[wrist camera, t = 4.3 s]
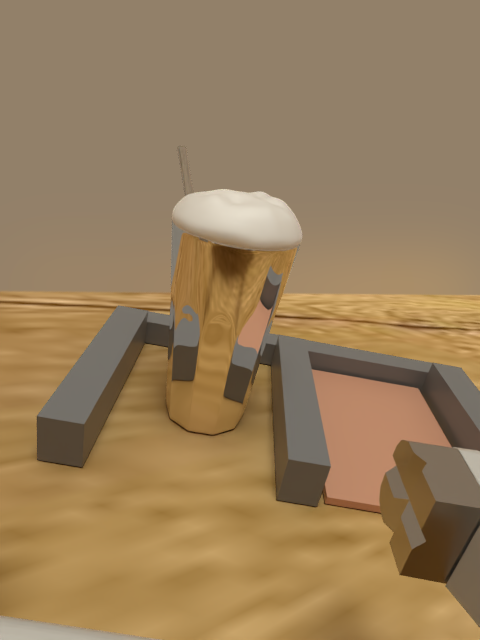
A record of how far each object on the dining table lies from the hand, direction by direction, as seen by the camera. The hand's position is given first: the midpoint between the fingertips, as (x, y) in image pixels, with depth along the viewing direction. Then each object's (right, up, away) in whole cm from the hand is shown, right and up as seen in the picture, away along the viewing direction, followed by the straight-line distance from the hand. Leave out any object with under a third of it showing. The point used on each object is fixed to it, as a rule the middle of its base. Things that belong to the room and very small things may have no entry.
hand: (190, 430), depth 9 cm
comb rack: (+3, -2, +11) cm, 11 cm away
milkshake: (-1, -2, +10) cm, 11 cm away
